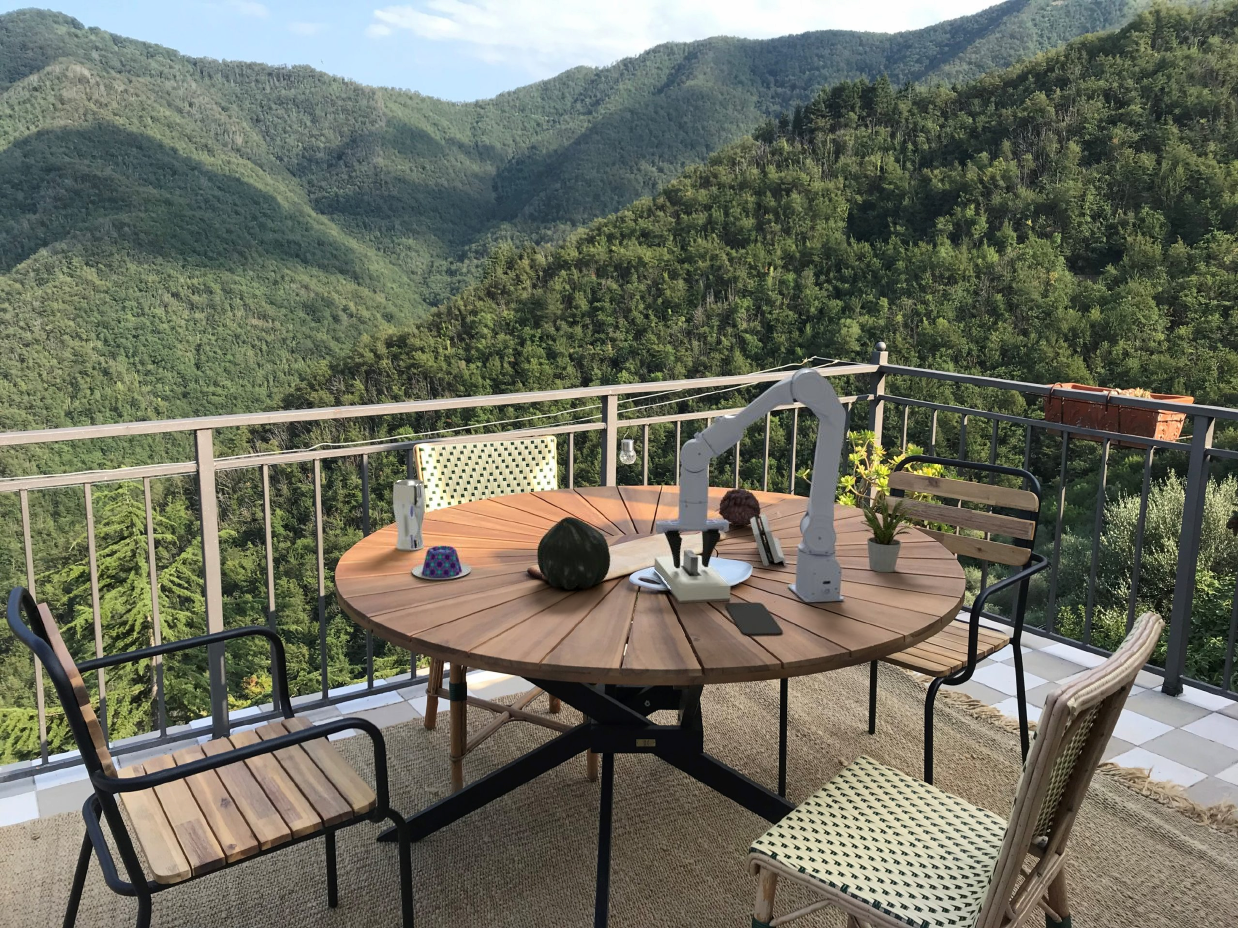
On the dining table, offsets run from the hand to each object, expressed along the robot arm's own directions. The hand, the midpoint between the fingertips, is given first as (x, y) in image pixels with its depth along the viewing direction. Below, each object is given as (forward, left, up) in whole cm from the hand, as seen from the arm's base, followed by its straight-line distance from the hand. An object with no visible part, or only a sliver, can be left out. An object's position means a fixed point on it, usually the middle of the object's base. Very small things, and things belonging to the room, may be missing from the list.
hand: (690, 566), depth 173 cm
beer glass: (+34, +56, -4) cm, 66 cm away
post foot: (0, 0, -4) cm, 4 cm away
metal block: (0, 0, -3) cm, 3 cm away
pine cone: (+42, -25, -4) cm, 49 cm away
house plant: (+5, -46, -4) cm, 46 cm away
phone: (-20, -6, -4) cm, 21 cm away
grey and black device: (+18, -23, -4) cm, 30 cm away
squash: (+4, +23, -4) cm, 24 cm away
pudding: (+15, +49, -4) cm, 51 cm away
